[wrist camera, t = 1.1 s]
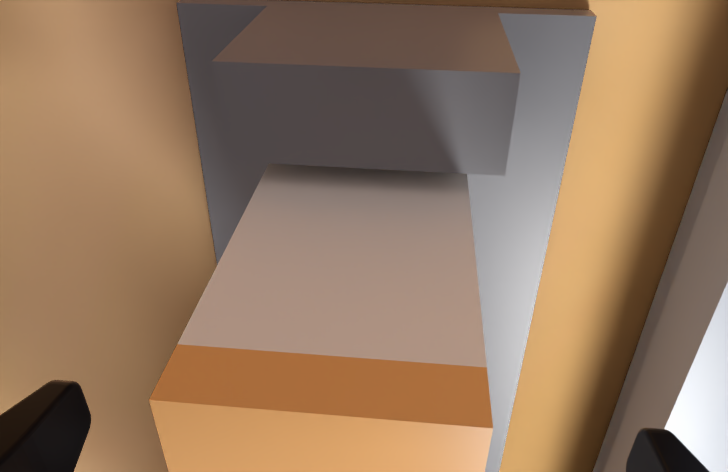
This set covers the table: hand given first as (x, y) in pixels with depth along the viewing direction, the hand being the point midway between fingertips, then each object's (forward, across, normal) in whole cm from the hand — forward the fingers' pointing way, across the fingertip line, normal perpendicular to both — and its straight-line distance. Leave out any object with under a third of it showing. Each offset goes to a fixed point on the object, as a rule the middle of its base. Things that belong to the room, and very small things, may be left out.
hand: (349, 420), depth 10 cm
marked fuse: (+6, 0, 0) cm, 6 cm away
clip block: (+6, 0, +5) cm, 8 cm away
